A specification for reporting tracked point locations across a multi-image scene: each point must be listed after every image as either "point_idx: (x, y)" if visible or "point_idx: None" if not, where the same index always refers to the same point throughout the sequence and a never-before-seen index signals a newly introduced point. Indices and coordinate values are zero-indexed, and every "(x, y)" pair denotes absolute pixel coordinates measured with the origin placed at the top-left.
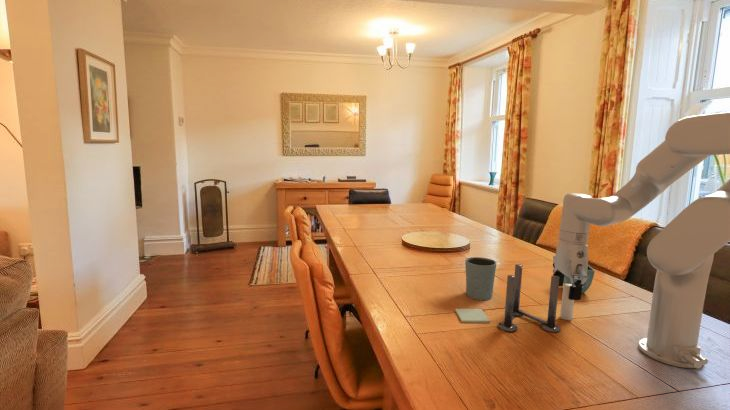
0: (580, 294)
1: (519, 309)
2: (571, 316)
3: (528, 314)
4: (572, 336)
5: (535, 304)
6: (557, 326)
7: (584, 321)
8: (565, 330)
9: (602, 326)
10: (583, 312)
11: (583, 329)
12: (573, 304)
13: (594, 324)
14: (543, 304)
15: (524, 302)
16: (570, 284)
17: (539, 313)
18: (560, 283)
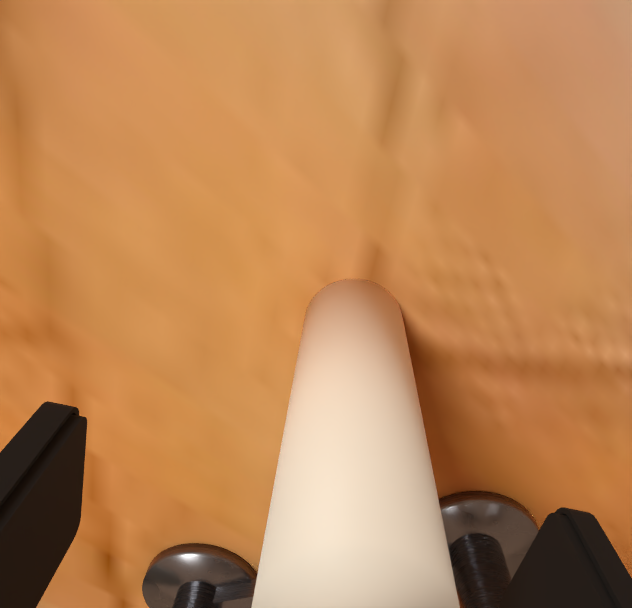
0: (625, 587)
1: (179, 565)
2: (405, 332)
3: None
4: (621, 493)
5: (56, 378)
6: (492, 517)
7: (462, 218)
8: (532, 475)
9: (613, 126)
10: (276, 45)
11: (578, 347)
12: (414, 388)
13: (547, 173)
14: (55, 314)
15: (15, 432)
16: (308, 576)
17: (234, 457)
18: (61, 483)
